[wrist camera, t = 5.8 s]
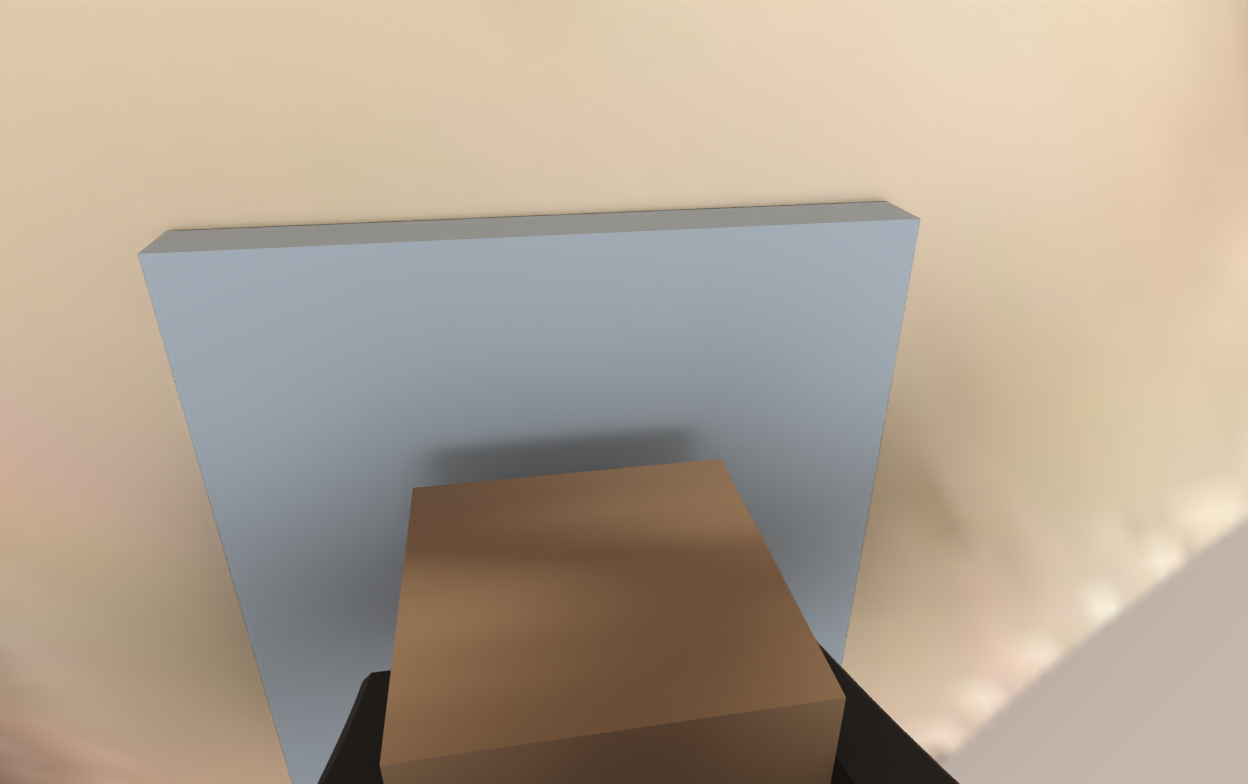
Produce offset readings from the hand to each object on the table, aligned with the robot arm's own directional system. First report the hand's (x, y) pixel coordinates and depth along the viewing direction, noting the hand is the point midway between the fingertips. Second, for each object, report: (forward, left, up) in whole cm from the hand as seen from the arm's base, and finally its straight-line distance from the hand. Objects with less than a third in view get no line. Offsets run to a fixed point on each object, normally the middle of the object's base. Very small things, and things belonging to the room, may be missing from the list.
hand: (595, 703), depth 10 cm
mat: (0, 0, -4) cm, 4 cm away
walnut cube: (0, 0, -2) cm, 2 cm away
